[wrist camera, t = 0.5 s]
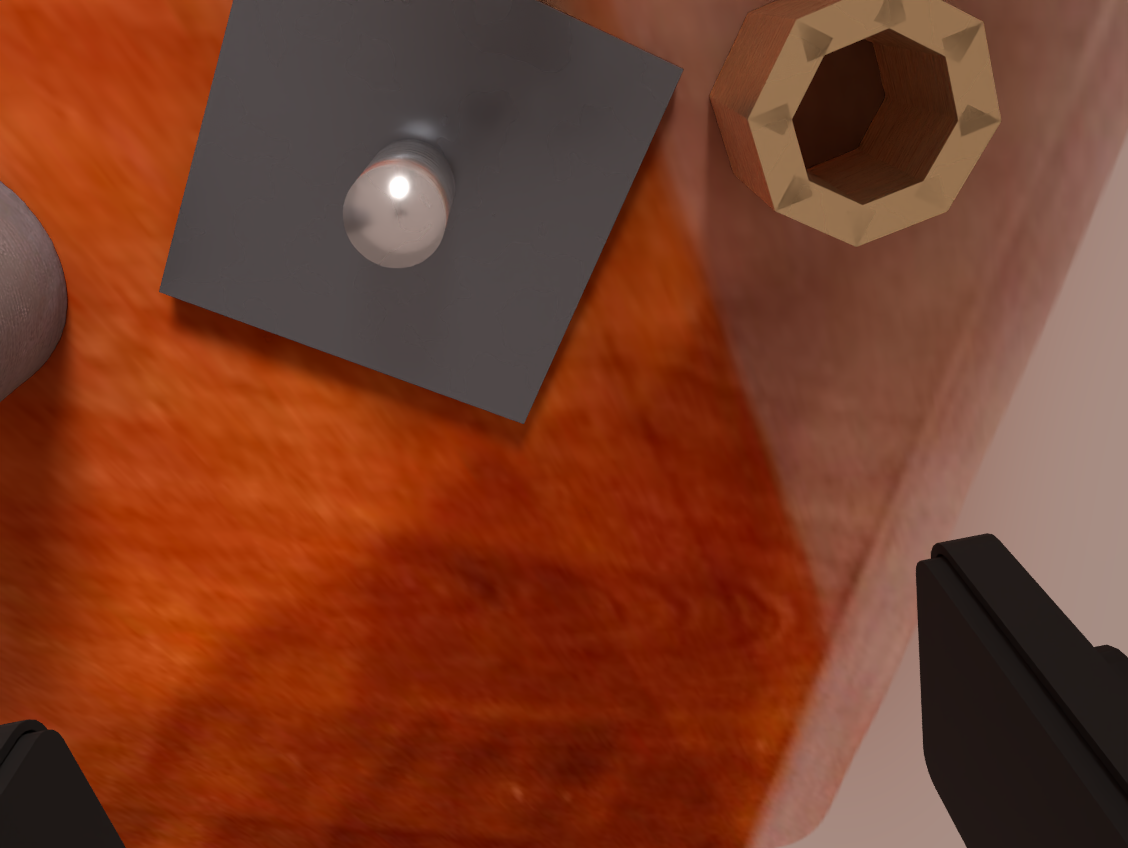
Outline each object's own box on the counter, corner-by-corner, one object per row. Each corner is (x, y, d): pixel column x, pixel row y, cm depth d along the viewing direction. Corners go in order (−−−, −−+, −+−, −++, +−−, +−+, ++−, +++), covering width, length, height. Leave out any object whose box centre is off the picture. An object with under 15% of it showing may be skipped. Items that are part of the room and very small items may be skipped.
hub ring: (776, -50, 31) (833, -56, 25) (953, 39, 32) (1042, 52, 27) (683, 151, 33) (715, 185, 28) (850, 225, 35) (911, 271, 29)
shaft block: (277, -121, 29) (217, -147, 23) (676, 65, 32) (712, 84, 26) (172, 279, 34) (102, 341, 29) (523, 408, 37) (525, 487, 31)
